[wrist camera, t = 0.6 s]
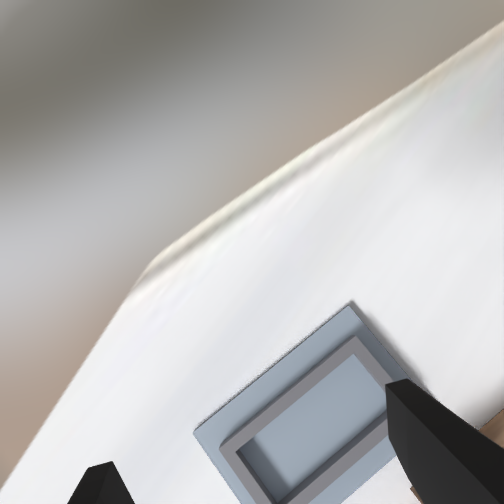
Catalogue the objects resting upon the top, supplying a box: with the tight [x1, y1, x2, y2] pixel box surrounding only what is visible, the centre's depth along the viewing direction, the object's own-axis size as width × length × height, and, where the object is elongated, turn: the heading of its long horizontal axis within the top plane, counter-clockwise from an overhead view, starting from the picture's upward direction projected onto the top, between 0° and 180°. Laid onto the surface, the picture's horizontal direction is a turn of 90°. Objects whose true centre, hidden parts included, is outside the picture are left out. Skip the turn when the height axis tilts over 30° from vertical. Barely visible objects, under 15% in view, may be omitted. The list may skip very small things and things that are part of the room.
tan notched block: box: [410, 409, 504, 504], centre depth 28 cm, size 12×4×6 cm, turn 128°
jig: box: [193, 305, 413, 504], centre depth 32 cm, size 12×18×2 cm, turn 128°
